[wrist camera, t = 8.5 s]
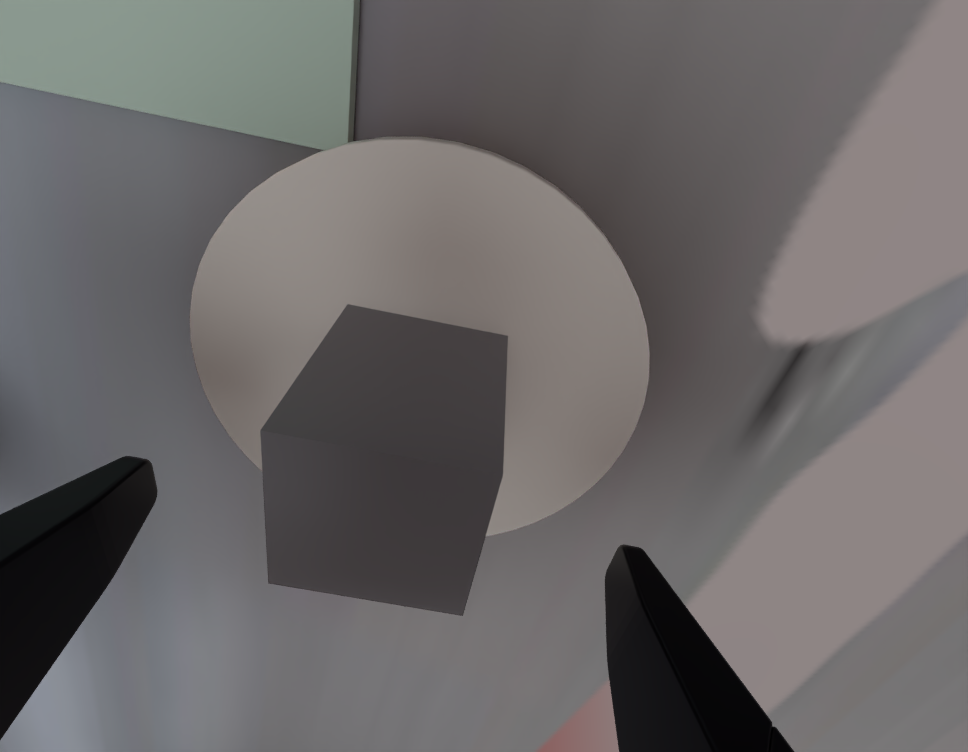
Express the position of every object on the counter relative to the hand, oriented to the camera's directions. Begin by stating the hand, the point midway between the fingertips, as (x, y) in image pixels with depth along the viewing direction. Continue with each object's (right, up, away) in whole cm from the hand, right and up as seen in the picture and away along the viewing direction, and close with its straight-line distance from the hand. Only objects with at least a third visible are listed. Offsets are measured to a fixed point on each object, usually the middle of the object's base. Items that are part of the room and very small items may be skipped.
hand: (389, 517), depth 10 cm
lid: (0, +3, +5) cm, 5 cm away
